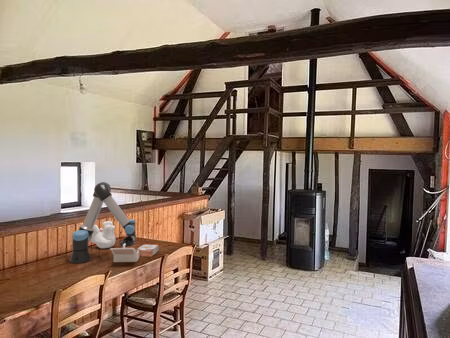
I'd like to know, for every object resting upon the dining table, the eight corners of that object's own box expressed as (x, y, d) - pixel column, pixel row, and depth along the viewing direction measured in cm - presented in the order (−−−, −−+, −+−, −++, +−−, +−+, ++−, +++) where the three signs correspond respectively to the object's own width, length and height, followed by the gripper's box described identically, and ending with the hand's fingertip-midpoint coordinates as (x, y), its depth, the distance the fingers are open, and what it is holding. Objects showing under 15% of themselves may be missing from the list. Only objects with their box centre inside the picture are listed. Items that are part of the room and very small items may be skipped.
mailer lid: (110, 248, 263) (109, 249, 262) (134, 247, 264) (134, 248, 264) (113, 254, 274) (113, 254, 274) (136, 253, 276) (136, 254, 276)
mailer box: (117, 257, 289) (117, 250, 288) (139, 257, 290) (139, 249, 290) (113, 262, 275) (113, 254, 274) (136, 261, 276) (136, 254, 276)
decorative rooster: (118, 246, 329) (118, 219, 328) (110, 250, 313) (110, 222, 313) (93, 244, 332) (93, 218, 332) (84, 248, 317) (84, 221, 316)
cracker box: (159, 244, 311) (151, 250, 290) (159, 250, 311) (151, 257, 290) (143, 243, 312) (135, 249, 292) (143, 250, 312) (135, 256, 292)
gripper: (136, 244, 290) (132, 251, 267) (120, 245, 289) (114, 252, 265) (136, 235, 290) (132, 242, 266) (120, 235, 289) (114, 242, 265)
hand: (123, 247), depth 266 cm, fingers closed
